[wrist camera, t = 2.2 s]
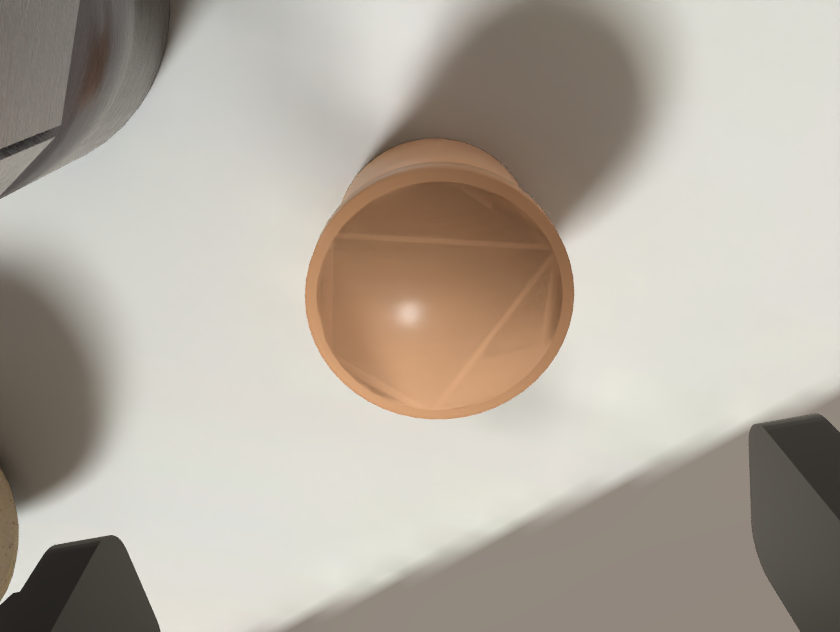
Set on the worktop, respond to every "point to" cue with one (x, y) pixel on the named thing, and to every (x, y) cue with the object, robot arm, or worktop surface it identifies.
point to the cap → (438, 283)
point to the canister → (71, 78)
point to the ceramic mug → (7, 534)
